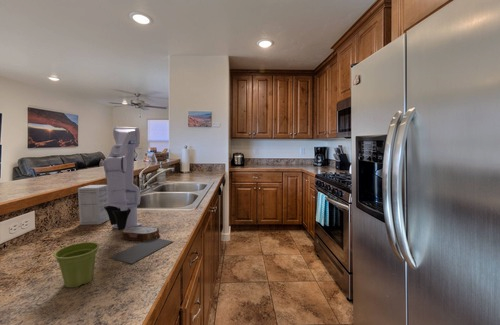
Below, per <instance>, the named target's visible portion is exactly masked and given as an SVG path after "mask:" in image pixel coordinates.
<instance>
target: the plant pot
mask: <svg viewBox="0 0 500 325" xmlns="http://www.w3.org/2000/svg"><path fill="white" fill-rule="evenodd" d="M99 248H100V244H99V243H98V242H95V241H94V242H93V241H86V242H85V241H84V242H77V243H73V244H70V245H67V246H64V247H61V248H60V249H58V250H56V251H55V253H54V254H53V257H54V258H55V259H56V261H57V263H58V264H59V268H60V271H61V275H62V279H63V284H64V286H65V287H67V288H78V287H79V286H82V285H83V284H84V285H86V284H88V283H90V282H91V281H92V280H93V279H94V275H95V274H94V272H95V264H96V255H97V252H98V249H99Z"/></svg>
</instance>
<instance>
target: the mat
mask: <svg viewBox="0 0 500 325" xmlns="http://www.w3.org/2000/svg"><path fill="white" fill-rule="evenodd" d="M172 243H174V241H173V240H167V239H164V238H163V239H162V238H159V237H157V238H155V239H152V240H146V241H141V242H139V243H137V244H135V245H132V246H131V247H130V246H129V247H127V248H126V249H124V250H121V251H120V252H118V253H115V254H113V255H111V256H108V259H111V260H115V261H118V262H123V263H126V264H130V265H133V264H135V263H137V262H139V261H141V260H142V259H145V258H146V257H148V256H150V255H152V254H154V253H156V252H158V251H160V250H161V249H163V248H165V247H167V246H168V245H170V244H172Z"/></svg>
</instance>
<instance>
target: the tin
mask: <svg viewBox="0 0 500 325" xmlns="http://www.w3.org/2000/svg"><path fill="white" fill-rule="evenodd" d="M120 232H121V237H120V238H121V239H123V240H129V241H141V242H143V241H146V240H152V239H155V238H159V237H160V229H159V227H156V226H145V225H144V226H143V225H140V226H133V227H129V228H127V229H121V231H120Z"/></svg>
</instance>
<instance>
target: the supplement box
mask: <svg viewBox="0 0 500 325" xmlns="http://www.w3.org/2000/svg"><path fill="white" fill-rule="evenodd" d="M77 197H78V198H77V199H78V212H79V213H78V216H79V226H80V225H81V226H83V225H86V226H87V225H88V226H89V225H101V224H103V223H105V222H107V221H110V220H109V216H108V213H107V211H106V210H105V208H104V207H105V206H108V205H107V202H108V194H107V184H89V185H85V186H82V187H78V188H77Z"/></svg>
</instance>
